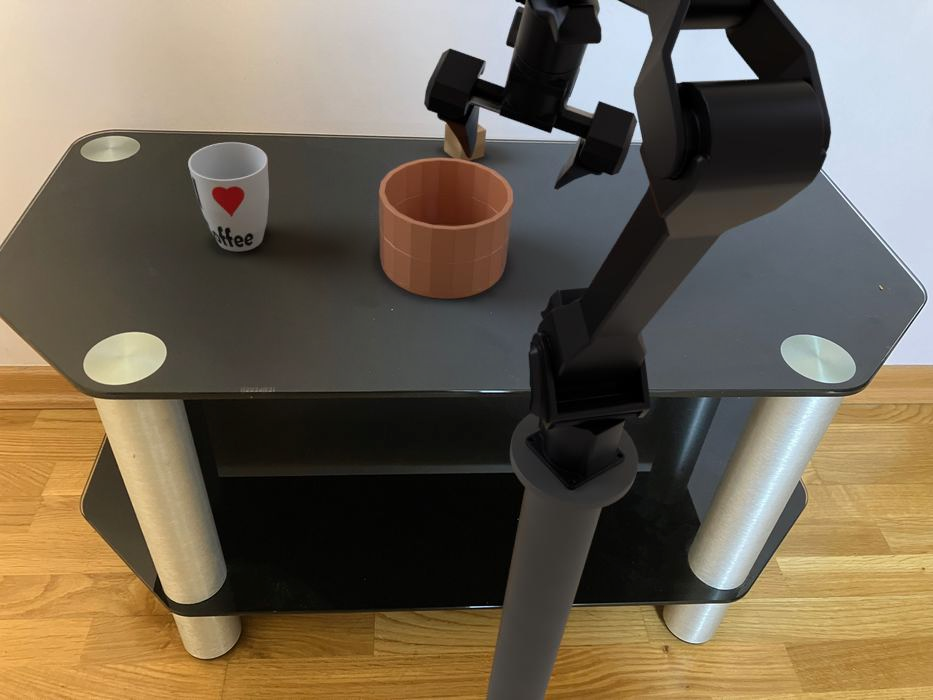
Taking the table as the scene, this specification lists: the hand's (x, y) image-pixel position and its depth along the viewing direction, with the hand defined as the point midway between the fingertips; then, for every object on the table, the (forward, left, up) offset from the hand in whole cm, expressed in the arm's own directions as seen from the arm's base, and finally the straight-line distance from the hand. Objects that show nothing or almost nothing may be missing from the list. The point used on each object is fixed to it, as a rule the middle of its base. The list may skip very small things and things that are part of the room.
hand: (513, 170), depth 78 cm
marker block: (+25, -12, -14) cm, 31 cm away
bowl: (+6, +4, -14) cm, 15 cm away
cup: (+21, +22, -14) cm, 33 cm away
